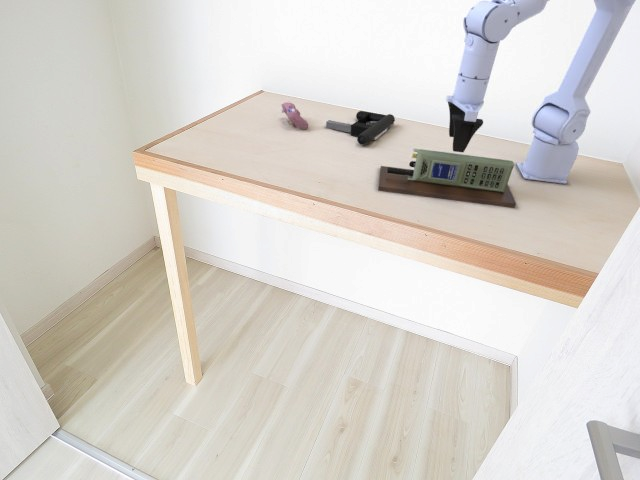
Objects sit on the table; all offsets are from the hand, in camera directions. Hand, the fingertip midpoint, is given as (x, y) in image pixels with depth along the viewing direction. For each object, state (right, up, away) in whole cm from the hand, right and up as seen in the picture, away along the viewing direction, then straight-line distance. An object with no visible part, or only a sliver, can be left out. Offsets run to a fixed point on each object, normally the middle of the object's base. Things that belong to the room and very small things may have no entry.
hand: (456, 143), depth 86 cm
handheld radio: (-1, -8, +4) cm, 9 cm away
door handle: (-18, +10, +29) cm, 36 cm away
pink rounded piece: (-35, +12, +30) cm, 48 cm away
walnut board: (-1, -9, +5) cm, 10 cm away
